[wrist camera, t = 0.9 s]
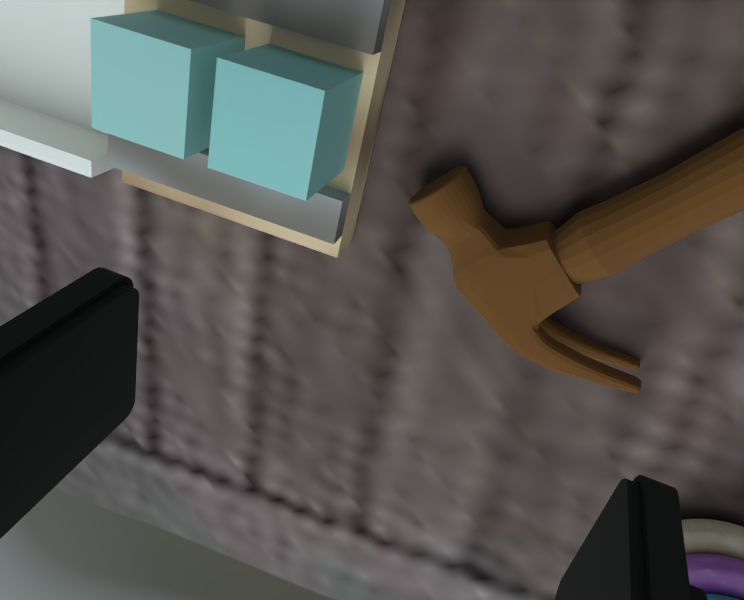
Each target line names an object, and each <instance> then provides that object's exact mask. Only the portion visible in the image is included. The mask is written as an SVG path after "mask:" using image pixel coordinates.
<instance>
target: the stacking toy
mask: <svg viewBox="0 0 744 600" xmlns="http://www.w3.org/2000/svg"><path fill="white" fill-rule="evenodd" d="M682 528H683V536H684V544H685V552H686V560H687V568H688V576H689V583H690V585H693V586H695V587H697V588H700V589H702V590H703V591H704V593H705V594H706V595H707V599H708V600H744V527H742V526H739V525H736V524H733V523H729V522H724V521H719V520H711V519H684V520H682Z"/></svg>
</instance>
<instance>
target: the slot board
mask: <svg viewBox="0 0 744 600" xmlns="http://www.w3.org/2000/svg"><path fill="white" fill-rule="evenodd" d="M405 2H406V0H125V4H124V14H128V13H136V12H144V11H151V10H159V11H162V12H166V13H169V14H172V15H176V16H179V17H182V18H186V19H189V20H192V21H196V22H199V23H202V24H205V25H209V26H212V27H215V28H219V29H222V30H225V31H229V32H232V33H235V34H239V35H242V36H245V37H246V40H245V50H247V49H251V48H254V47H258V46H262V45H266V44H272V45H275V46H278V47H282V48H285V49H288V50H292V51H295V52H298V53H302V54H305V55H308V56H311V57H315V58H318V59H321V60H325V61H328V62H331V63H335V64H338V65H341V66H345V67H348V68H351V69H355V70H358V71H361V72H364V73H363V78H362V83H361V88H360V93H359V98H358V103H357V108H356V113H355V118H354V122H353V127H352V132H351V137H350V142H349V147H348V152H347V157H346V162H345V167H344V170H343V171H342V172H341V173H340V174H339V175H337V176H336V177H335V178H334V179H332V180H331V181H330V182H329V183H327V184H326V185H325V186H324V187H323V188H321V189H320V190H319V191H318V192H316V193H315V194H314V195H313V196H312V197H310V198H309V199H308V200H307V201H304V200H301V199H298V198H296V197H293V196H290V195H287V194H284V193H281V192H278V191H275V190H272V189H269V188H266V187H263V186H260V185H257V184H254V183H252V182H249V181H246V180H243V179H240V178H237V177H234V176H231V175H228V174H225V173H222V172H219V171H216V170H213V169H211V168H208V157H209V147H208V148H206V149H204V150H202V151H200V152H198V153H196V154H194V155H192V156H190V157H188V158H186V159H181V158H178V157H175V156H172V155H169V154H167V153H164V152H161V151H158V150H155V149H152V148H149V147H146V146H143V145H140V144H137V143H134V142H131V141H128V140H126V139H123V138H120V137H117V136H114V135H111V134H108V166H111V167H114V168H117V169H120V170H122V182H124V183H127V184H130V185H133V186H136V187H139V188H141V189H144V190H147V191H150V192H153V193H156V194H158V195H161V196H164V197H167V198H170V199H173V200H175V201H178V202H181V203H184V204H187V205H190V206H192V207H195V208H198V209H201V210H204V211H206V212H209V213H212V214H215V215H218V216H221V217H223V218H226V219H229V220H232V221H235V222H238V223H240V224H243V225H246V226H249V227H252V228H255V229H257V230H260V231H263V232H266V233H269V234H272V235H274V236H277V237H280V238H283V239H286V240H289V241H291V242H294V243H297V244H300V245H303V246H306V247H308V248H311V249H314V250H317V251H320V252H322V253H325V254H328V255H331V256H334V257H338V256H339V255H340V254H341V253H342V252H343V251H344V250H345V249H346V247H347V246H348V245H349V244H350V243H351V242H352V240H353V236H354V231H355V227H356V222H357V218H358V213H359V209H360V204H361V200H362V195H363V191H364V186H365V182H366V177H367V173H368V168H369V164H370V159H371V155H372V150H373V146H374V141H375V137H376V132H377V128H378V123H379V119H380V114H381V110H382V105H383V101H384V96H385V92H386V87H387V83H388V78H389V74H390V69H391V65H392V60H393V56H394V51H395V47H396V42H397V38H398V33H399V29H400V24H401V20H402V15H403V11H404V6H405Z"/></svg>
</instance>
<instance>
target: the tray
mask: <svg viewBox="0 0 744 600" xmlns="http://www.w3.org/2000/svg"><path fill="white" fill-rule="evenodd" d="M124 4H125V0H0V145H1V146H3V147H6V148H9V149H12V150H15V151H18V152H20V153H23V154H26V155H29V156H32V157H34V158H37V159H40V160H43V161H46V162H49V163H51V164H54V165H57V166H60V167H63V168H65V169H68V170H71V171H74V172H77V173H79V174H82V175H85V176H88V177H91V178H92V177H94V176H97V175H99V174H101V173H104V172H106V171H108V170H111V169H113V168H114V167H111V166H108V133H105V132H102V131H99V130H96V129H93V128H92V105H91V19H90V18H96V17H104V16H112V15H120V14H124Z"/></svg>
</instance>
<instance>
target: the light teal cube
mask: <svg viewBox="0 0 744 600" xmlns="http://www.w3.org/2000/svg"><path fill="white" fill-rule="evenodd" d="M90 19H91V105H92V128H93V129H96V130H99V131H102V132H105V133H108V134H111V135H114V136H117V137H120V138H123V139H126V140H128V141H131V142H134V143H137V144H140V145H143V146H146V147H149V148H152V149H155V150H158V151H161V152H164V153H167V154H169V155H172V156H175V157H178V158H181V159H186V158H188V157H190V156H192V155H194V154H196V153H198V152H200V151H202V150H204V149H206V148H208V147H209V145H210V134H211V122H212V111H213V99H214V87H215V76H216V64H217V57H220V56H224V55H228V54H232V53H235V52H239V51H243V50H245V40H246V37H245V36H242V35H239V34H235V33H232V32H229V31H225V30H222V29H219V28H215V27H212V26H209V25H205V24H202V23H199V22H196V21H192V20H189V19H186V18H182V17H179V16H176V15H172V14H169V13H166V12H162V11H159V10H151V11H144V12H136V13H128V14H120V15H112V16H104V17H96V18H90Z"/></svg>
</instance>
